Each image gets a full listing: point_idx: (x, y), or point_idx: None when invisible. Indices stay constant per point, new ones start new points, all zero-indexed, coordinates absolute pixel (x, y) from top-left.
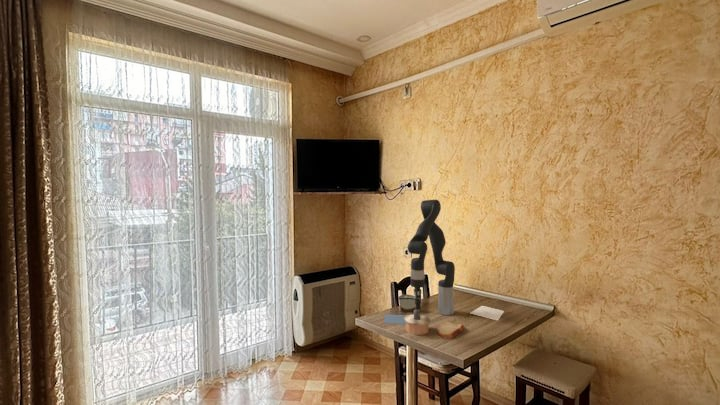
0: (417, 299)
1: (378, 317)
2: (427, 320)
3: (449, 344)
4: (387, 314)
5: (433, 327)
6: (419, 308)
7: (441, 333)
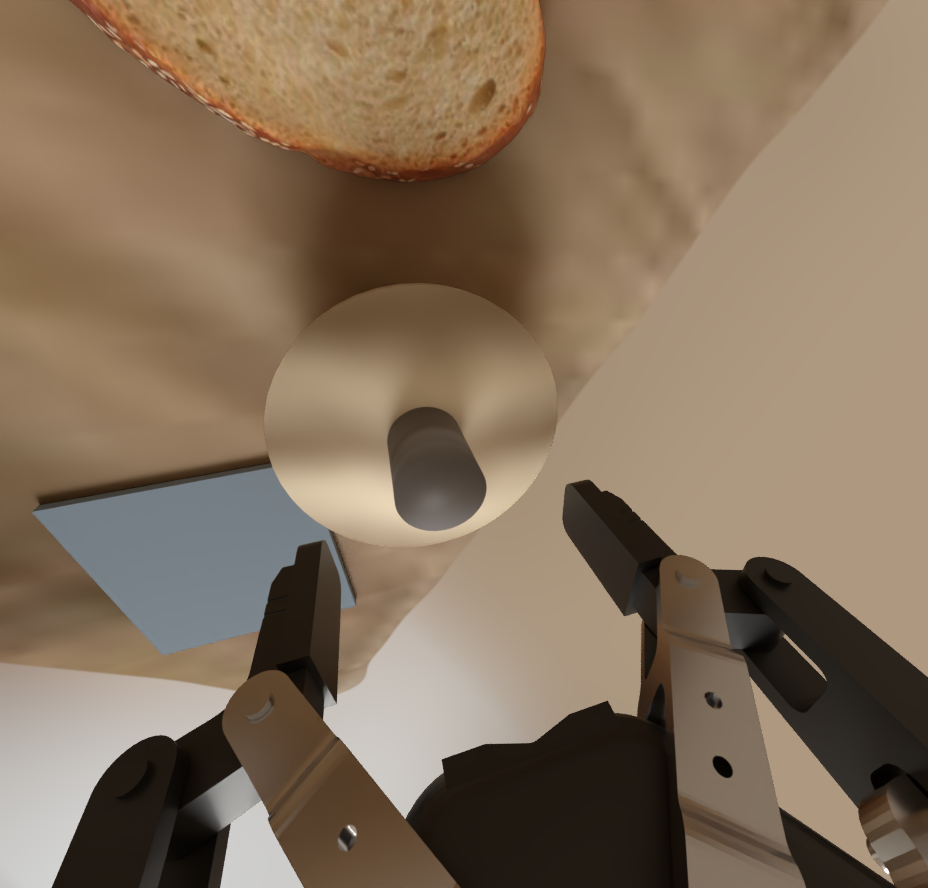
0: (325, 641)
1: (242, 657)
2: (453, 319)
3: (657, 60)
4: (154, 642)
5: (245, 223)
6: (615, 496)
7: (498, 129)
